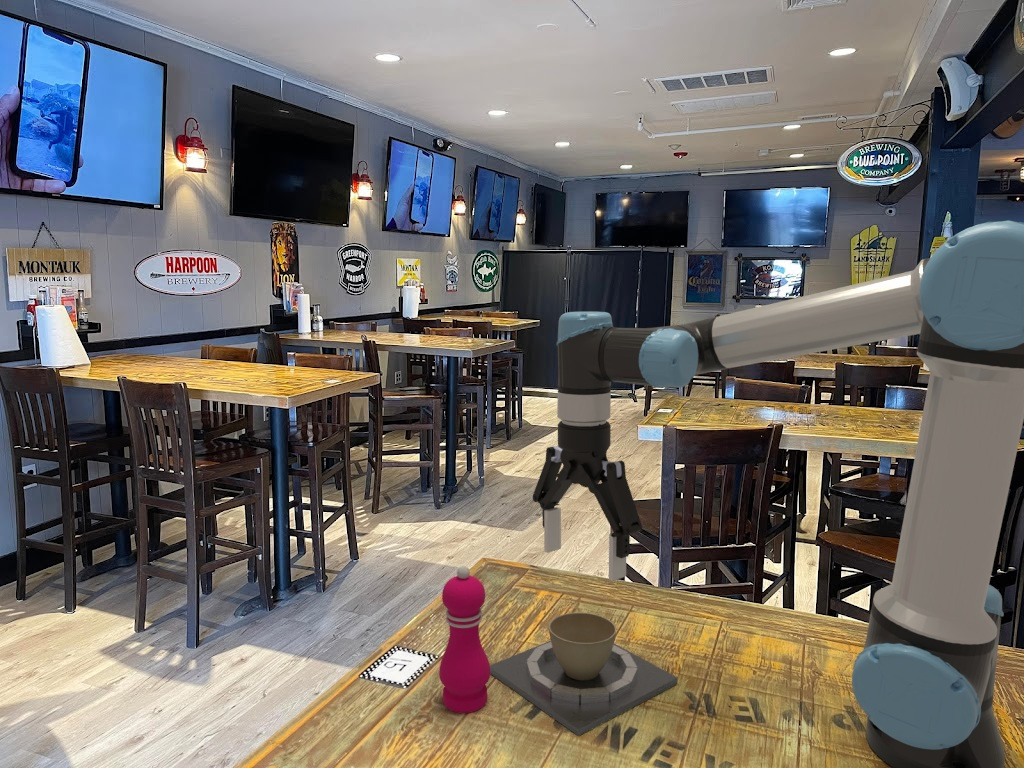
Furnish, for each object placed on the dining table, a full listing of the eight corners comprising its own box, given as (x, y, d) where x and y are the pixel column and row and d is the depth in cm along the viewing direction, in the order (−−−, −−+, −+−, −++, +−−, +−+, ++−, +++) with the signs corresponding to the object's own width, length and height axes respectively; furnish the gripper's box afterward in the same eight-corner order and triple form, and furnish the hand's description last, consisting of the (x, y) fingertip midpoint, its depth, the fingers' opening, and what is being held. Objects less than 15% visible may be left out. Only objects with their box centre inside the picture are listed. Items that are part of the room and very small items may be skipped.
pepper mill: (454, 721, 99) (452, 581, 96) (431, 696, 105) (428, 563, 102) (500, 705, 103) (499, 569, 100) (475, 681, 109) (473, 553, 106)
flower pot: (613, 693, 104) (613, 646, 103) (543, 686, 106) (543, 639, 105) (617, 658, 113) (618, 614, 112) (553, 651, 116) (554, 608, 114)
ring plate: (677, 683, 108) (677, 669, 108) (578, 736, 96) (578, 720, 96) (583, 632, 124) (583, 620, 123) (488, 672, 111) (488, 658, 111)
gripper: (670, 430, 97) (667, 583, 100) (546, 406, 116) (546, 534, 119) (631, 438, 92) (629, 598, 95) (509, 411, 111) (510, 545, 114)
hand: (583, 563), depth 107 cm, fingers open, 13 cm apart
